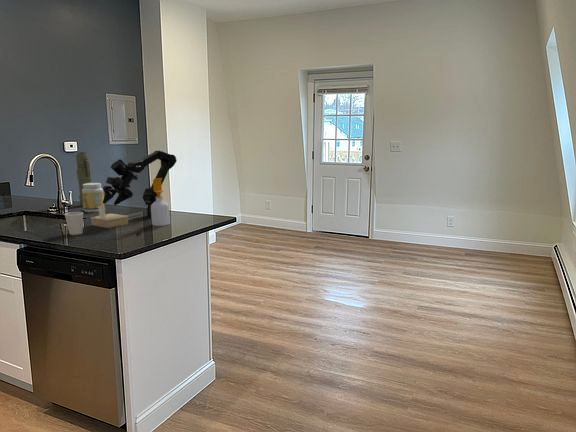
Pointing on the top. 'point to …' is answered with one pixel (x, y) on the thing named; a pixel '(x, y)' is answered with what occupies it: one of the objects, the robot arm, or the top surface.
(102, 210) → the carton lid
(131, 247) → the top surface
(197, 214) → the top surface
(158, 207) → the soap bottle
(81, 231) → the dixie cup
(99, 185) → the supplement tub
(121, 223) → the carton
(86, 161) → the green cactus
